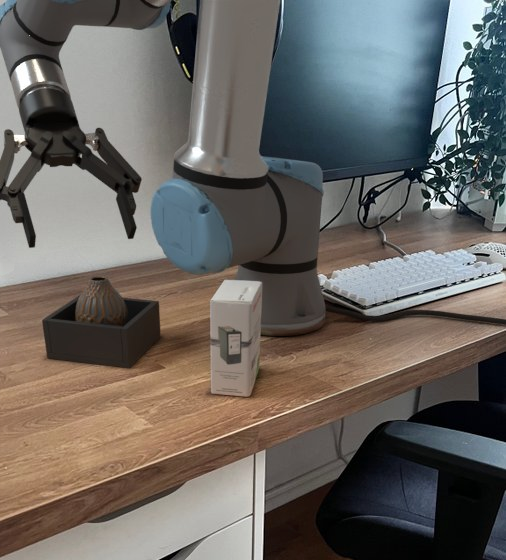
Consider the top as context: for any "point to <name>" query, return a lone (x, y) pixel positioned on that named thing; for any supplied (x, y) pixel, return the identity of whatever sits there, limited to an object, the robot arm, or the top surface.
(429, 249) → the top surface
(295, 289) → the robot arm
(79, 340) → the box
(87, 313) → the vase
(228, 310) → the ink box
